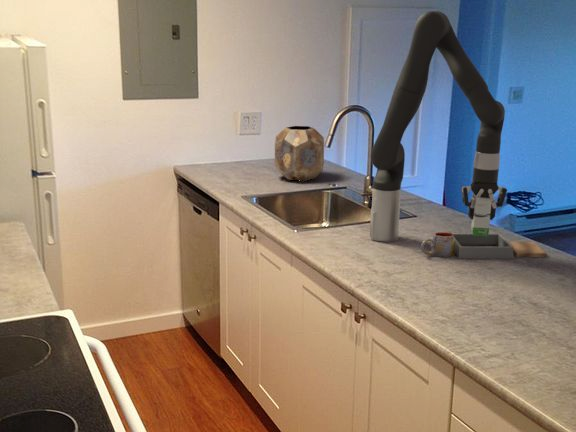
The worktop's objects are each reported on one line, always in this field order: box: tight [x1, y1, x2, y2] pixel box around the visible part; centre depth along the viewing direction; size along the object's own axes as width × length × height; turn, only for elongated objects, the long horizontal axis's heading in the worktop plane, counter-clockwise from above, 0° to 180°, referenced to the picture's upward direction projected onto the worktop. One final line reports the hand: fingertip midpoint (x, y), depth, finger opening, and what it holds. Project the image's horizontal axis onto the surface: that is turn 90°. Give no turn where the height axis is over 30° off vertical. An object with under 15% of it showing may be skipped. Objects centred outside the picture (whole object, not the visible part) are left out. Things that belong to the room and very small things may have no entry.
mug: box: [420, 231, 455, 258], centre depth 217 cm, size 12×7×7 cm, turn 114°
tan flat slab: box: [508, 241, 547, 258], centre depth 222 cm, size 9×12×1 cm
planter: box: [274, 125, 325, 182], centre depth 322 cm, size 22×24×24 cm
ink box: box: [470, 197, 492, 237], centre depth 219 cm, size 9×5×12 cm, turn 169°
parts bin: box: [452, 233, 514, 259], centre depth 222 cm, size 17×15×4 cm
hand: (481, 218), depth 219 cm, fingers closed on ink box, 5 cm apart
